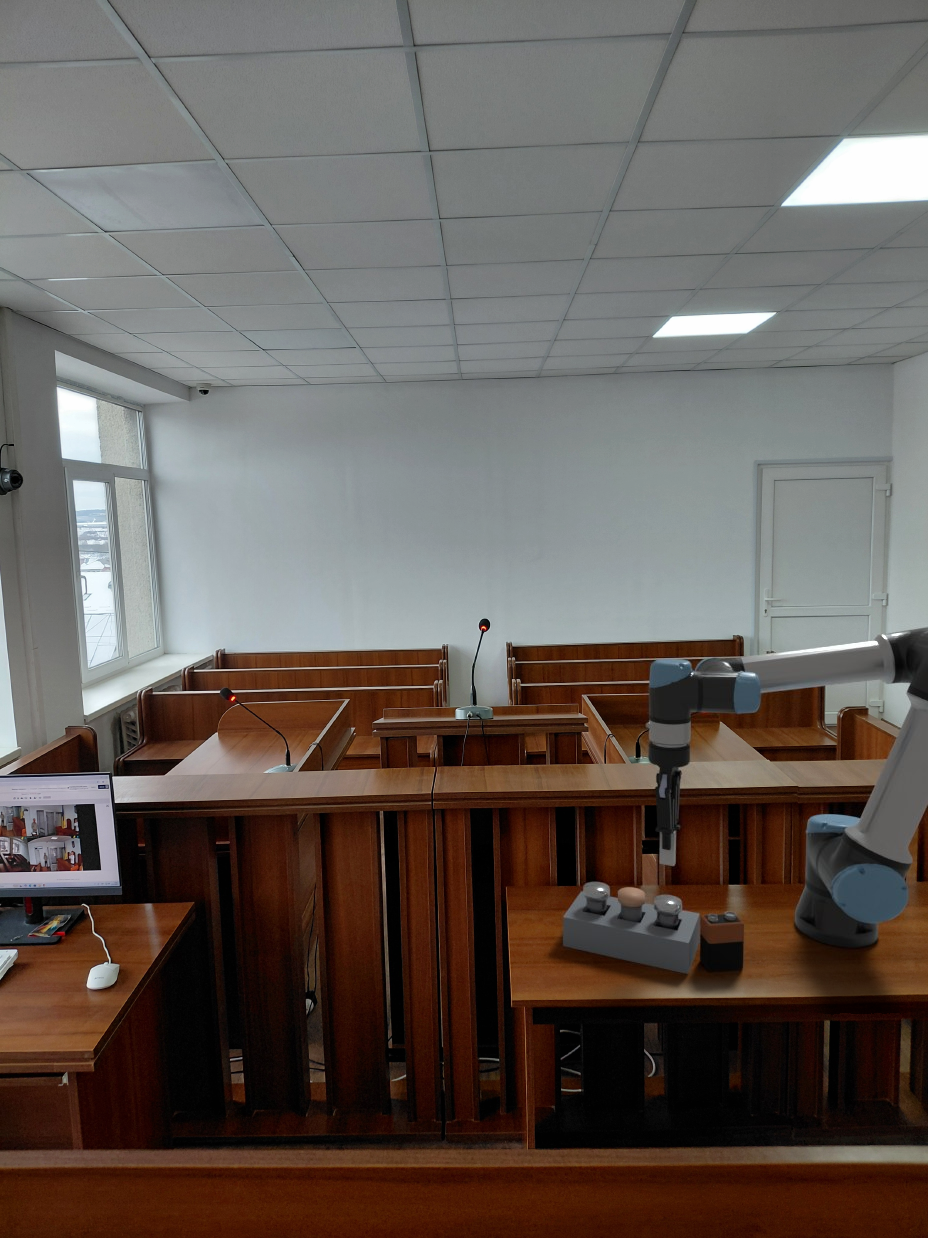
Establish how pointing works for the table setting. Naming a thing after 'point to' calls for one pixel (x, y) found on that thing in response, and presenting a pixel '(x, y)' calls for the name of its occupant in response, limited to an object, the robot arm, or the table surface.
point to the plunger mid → (631, 903)
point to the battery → (721, 942)
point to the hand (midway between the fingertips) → (667, 863)
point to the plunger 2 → (667, 911)
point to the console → (632, 935)
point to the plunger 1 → (596, 897)
